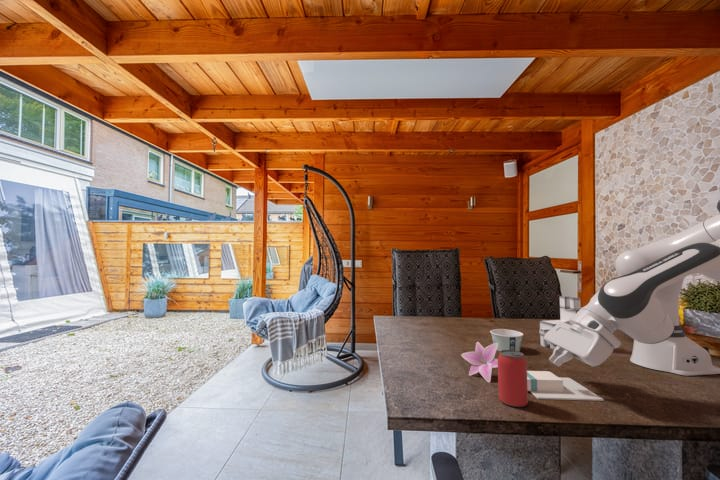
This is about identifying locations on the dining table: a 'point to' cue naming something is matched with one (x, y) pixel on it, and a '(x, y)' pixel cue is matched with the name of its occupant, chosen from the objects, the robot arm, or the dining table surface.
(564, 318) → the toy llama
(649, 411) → the dining table surface
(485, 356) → the lily
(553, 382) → the card box
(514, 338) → the food container
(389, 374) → the dining table surface
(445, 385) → the dining table surface
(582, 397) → the mat
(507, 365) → the beer can
